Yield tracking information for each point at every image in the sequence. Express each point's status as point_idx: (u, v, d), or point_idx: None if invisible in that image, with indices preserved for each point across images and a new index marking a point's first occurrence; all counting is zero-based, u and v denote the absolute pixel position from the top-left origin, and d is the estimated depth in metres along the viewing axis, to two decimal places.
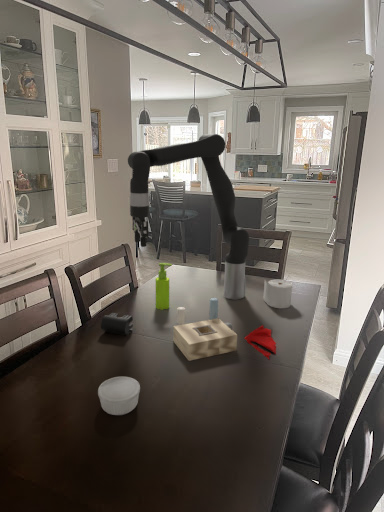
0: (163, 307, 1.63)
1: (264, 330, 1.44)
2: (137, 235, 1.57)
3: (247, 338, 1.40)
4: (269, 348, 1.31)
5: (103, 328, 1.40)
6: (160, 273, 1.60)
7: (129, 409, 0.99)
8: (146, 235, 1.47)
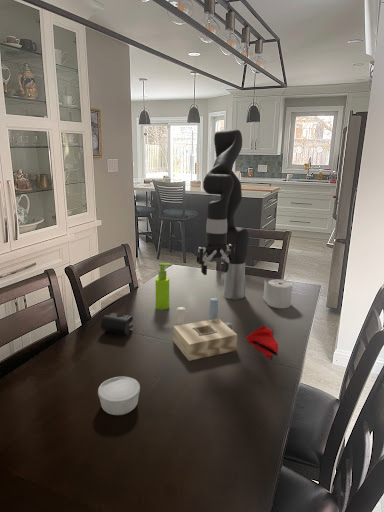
0: (163, 307, 1.63)
1: (265, 330, 1.44)
2: None
3: (248, 338, 1.40)
4: (271, 348, 1.31)
5: (103, 328, 1.40)
6: (160, 273, 1.60)
7: (129, 409, 0.99)
8: None
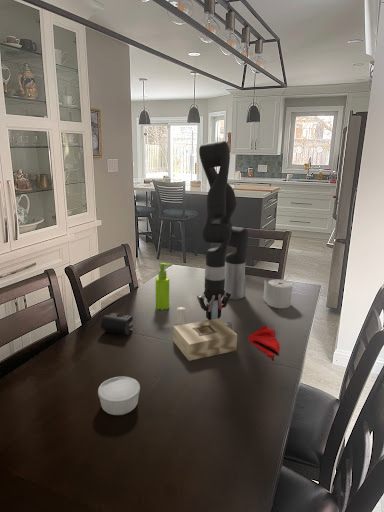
0: (163, 307, 1.63)
1: (267, 330, 1.44)
2: None
3: (250, 338, 1.40)
4: (272, 348, 1.31)
5: (103, 328, 1.40)
6: (160, 273, 1.60)
7: (129, 409, 0.99)
8: None
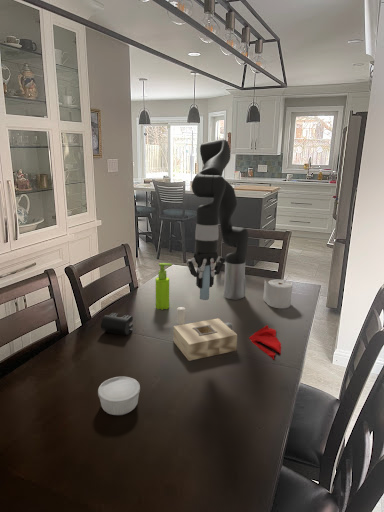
0: (163, 307, 1.63)
1: (269, 330, 1.44)
2: None
3: (252, 338, 1.40)
4: (274, 348, 1.31)
5: (103, 328, 1.40)
6: (160, 273, 1.60)
7: (129, 409, 0.99)
8: None
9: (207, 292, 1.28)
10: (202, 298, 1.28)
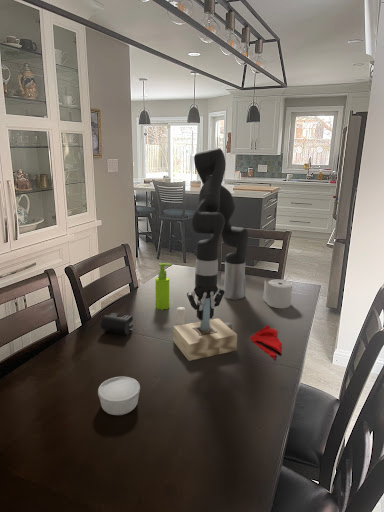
0: (163, 307, 1.63)
1: (270, 330, 1.44)
2: None
3: (253, 338, 1.40)
4: (275, 348, 1.31)
5: (103, 328, 1.40)
6: (160, 273, 1.60)
7: (129, 409, 0.99)
8: None
9: (207, 323, 1.31)
10: (203, 329, 1.31)
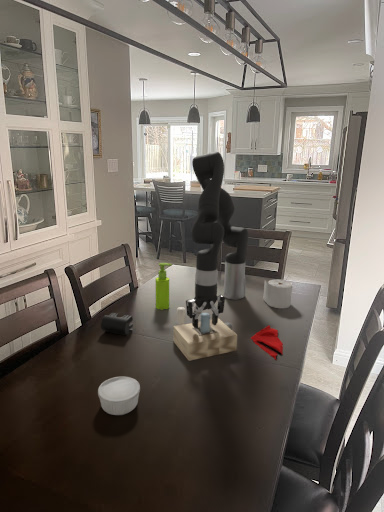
0: (163, 307, 1.63)
1: (271, 330, 1.44)
2: None
3: (253, 338, 1.40)
4: (276, 348, 1.31)
5: (103, 328, 1.40)
6: (160, 273, 1.60)
7: (129, 409, 0.99)
8: None
9: None
10: None
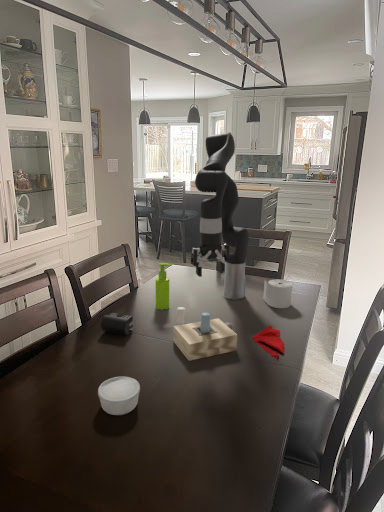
0: (163, 307, 1.63)
1: (272, 330, 1.44)
2: None
3: (255, 338, 1.40)
4: (277, 348, 1.31)
5: (103, 328, 1.40)
6: (160, 273, 1.60)
7: (129, 409, 0.99)
8: None
9: None
10: None
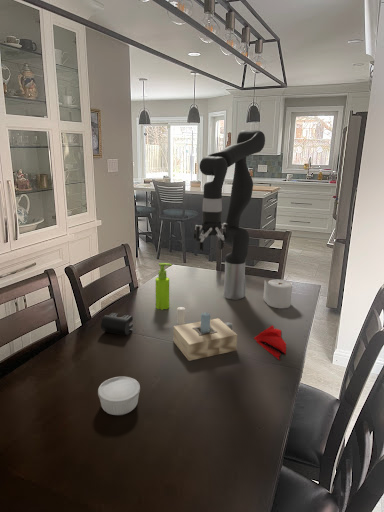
0: (163, 307, 1.63)
1: (274, 330, 1.44)
2: None
3: (257, 338, 1.40)
4: (279, 348, 1.31)
5: (103, 328, 1.40)
6: (160, 273, 1.60)
7: (129, 409, 0.99)
8: None
9: None
10: None
